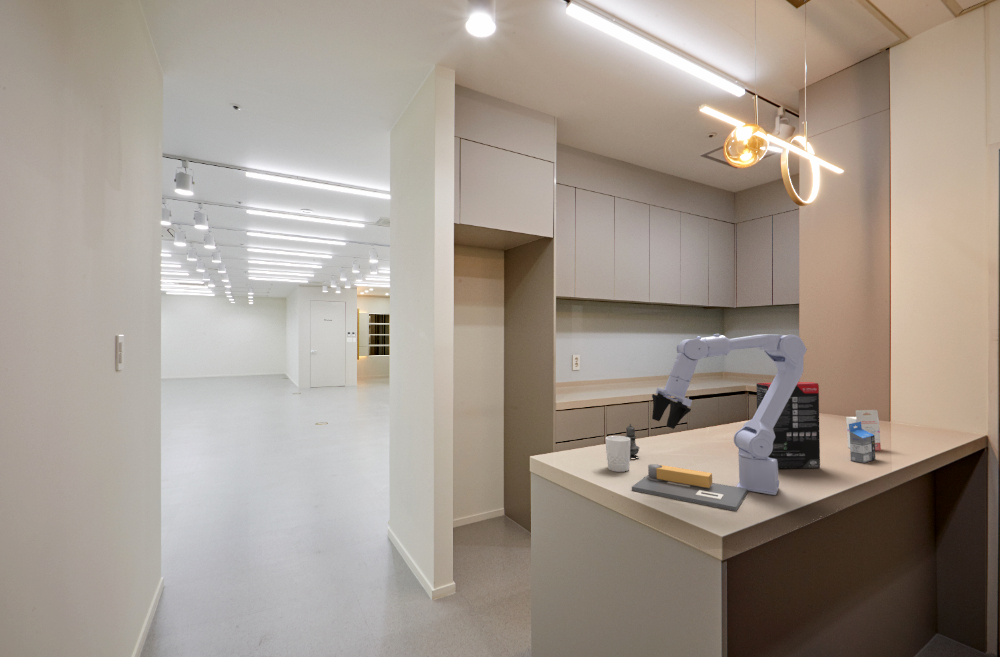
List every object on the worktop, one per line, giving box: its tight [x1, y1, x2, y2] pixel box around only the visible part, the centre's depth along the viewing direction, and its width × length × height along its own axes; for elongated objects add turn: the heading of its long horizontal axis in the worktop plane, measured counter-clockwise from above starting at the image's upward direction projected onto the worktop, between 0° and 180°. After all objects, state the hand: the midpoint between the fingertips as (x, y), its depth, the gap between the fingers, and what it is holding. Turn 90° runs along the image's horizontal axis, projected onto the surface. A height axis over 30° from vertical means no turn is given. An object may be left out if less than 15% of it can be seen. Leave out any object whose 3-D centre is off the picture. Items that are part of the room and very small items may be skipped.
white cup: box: [604, 435, 631, 473], centre depth 141 cm, size 8×8×10 cm
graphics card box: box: [756, 381, 821, 469], centre depth 140 cm, size 17×7×27 cm, turn 92°
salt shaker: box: [625, 423, 640, 458], centre depth 155 cm, size 6×6×12 cm
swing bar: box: [647, 463, 713, 488], centre depth 124 cm, size 17×4×3 cm, turn 52°
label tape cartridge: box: [849, 421, 877, 464], centre depth 146 cm, size 9×4×12 cm, turn 119°
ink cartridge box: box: [845, 409, 882, 452], centre depth 160 cm, size 9×5×15 cm, turn 90°
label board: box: [631, 474, 748, 512], centre depth 119 cm, size 26×16×1 cm, turn 52°
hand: (662, 423), depth 123 cm, fingers open, 7 cm apart
